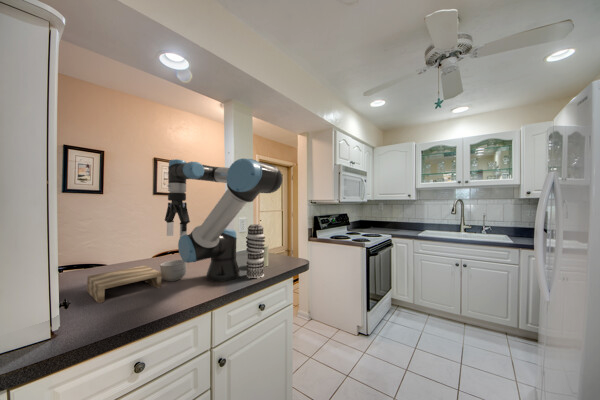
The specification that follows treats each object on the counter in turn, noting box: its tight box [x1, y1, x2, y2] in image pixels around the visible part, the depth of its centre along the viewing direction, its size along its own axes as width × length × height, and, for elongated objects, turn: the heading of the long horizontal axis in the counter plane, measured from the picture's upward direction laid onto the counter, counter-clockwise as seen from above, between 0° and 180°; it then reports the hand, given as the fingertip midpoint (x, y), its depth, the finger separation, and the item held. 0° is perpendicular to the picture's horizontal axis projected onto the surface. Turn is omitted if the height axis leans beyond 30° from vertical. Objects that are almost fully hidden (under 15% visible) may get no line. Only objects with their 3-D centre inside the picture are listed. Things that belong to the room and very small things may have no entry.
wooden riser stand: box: [86, 265, 162, 304], centre depth 91 cm, size 18×20×6 cm
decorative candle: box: [245, 223, 266, 279], centre depth 109 cm, size 9×9×25 cm
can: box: [263, 244, 269, 268], centre depth 127 cm, size 9×9×12 cm
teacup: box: [159, 258, 187, 282], centre depth 105 cm, size 14×11×8 cm
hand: (176, 237), depth 106 cm, fingers open, 13 cm apart
